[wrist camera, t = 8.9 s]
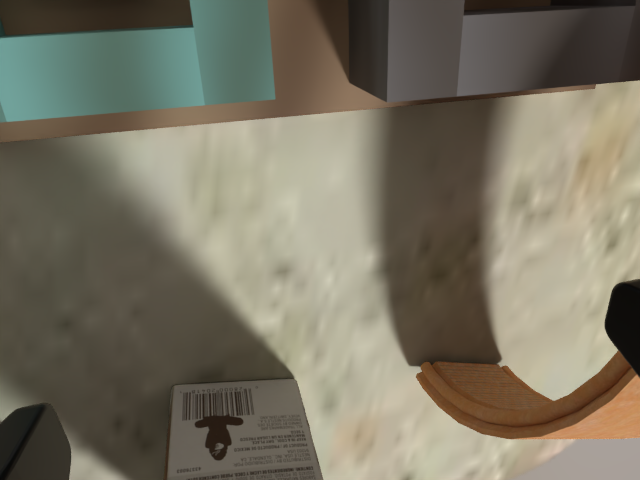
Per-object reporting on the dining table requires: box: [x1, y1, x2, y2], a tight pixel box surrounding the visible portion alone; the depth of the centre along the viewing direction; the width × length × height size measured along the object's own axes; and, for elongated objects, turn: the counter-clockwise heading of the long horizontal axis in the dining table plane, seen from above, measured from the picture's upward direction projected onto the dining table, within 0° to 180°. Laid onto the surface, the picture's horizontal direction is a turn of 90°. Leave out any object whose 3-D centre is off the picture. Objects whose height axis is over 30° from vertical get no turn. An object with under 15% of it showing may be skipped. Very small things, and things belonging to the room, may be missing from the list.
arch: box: [416, 351, 640, 439], centre depth 18 cm, size 6×20×10 cm, turn 166°
